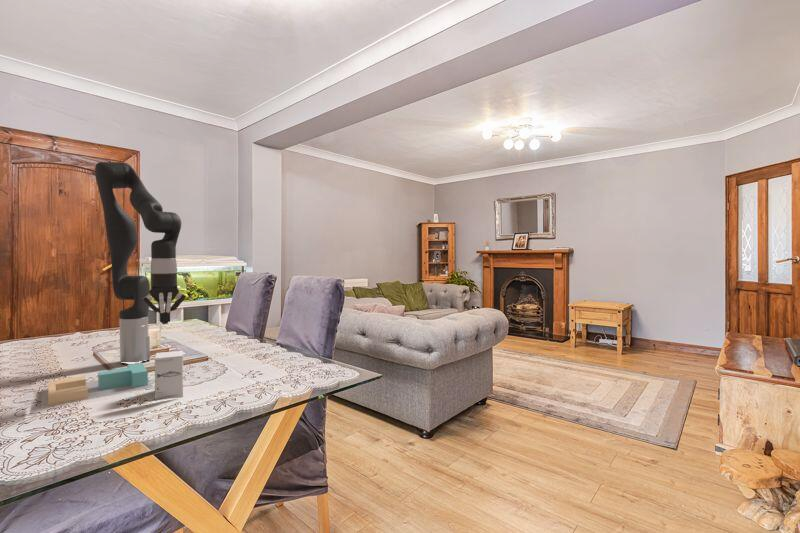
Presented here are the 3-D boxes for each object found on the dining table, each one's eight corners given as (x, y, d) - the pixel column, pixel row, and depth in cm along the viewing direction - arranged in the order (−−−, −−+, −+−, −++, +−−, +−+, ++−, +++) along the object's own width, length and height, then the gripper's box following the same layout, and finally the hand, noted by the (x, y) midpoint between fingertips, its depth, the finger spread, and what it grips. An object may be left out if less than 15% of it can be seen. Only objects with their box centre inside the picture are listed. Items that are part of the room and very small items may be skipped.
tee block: (141, 375, 135) (141, 362, 135) (147, 385, 126) (147, 371, 125) (97, 383, 127) (97, 369, 127) (100, 393, 118) (100, 378, 118)
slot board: (144, 375, 138) (143, 365, 138) (153, 390, 124) (153, 379, 124) (43, 392, 121) (42, 381, 121) (40, 411, 107) (40, 398, 107)
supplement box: (154, 401, 115) (153, 358, 114) (156, 393, 122) (155, 352, 121) (183, 397, 118) (182, 355, 118) (183, 389, 125) (183, 349, 124)
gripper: (183, 270, 140) (184, 320, 140) (138, 272, 131) (139, 324, 132) (188, 271, 134) (189, 323, 135) (142, 273, 125) (143, 327, 126)
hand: (164, 323), depth 133 cm, fingers closed
